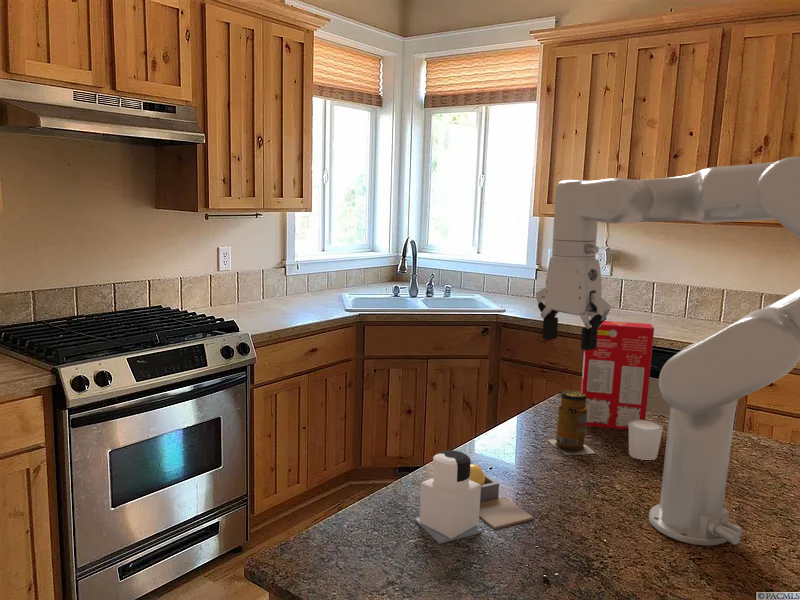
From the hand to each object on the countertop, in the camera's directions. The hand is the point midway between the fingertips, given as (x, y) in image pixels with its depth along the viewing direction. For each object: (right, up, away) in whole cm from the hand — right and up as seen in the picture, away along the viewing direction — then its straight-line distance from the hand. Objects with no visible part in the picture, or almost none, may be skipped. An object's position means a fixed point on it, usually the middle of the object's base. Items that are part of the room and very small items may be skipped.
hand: (568, 343), depth 117 cm
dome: (-18, -27, 0) cm, 32 cm away
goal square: (-23, -29, -12) cm, 39 cm away
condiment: (+7, -25, +24) cm, 35 cm away
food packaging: (+20, -22, +39) cm, 49 cm away
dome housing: (-18, -27, 0) cm, 33 cm away
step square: (-14, -29, -7) cm, 32 cm away
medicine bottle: (-23, -29, -12) cm, 39 cm away
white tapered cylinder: (+21, -26, +20) cm, 39 cm away
